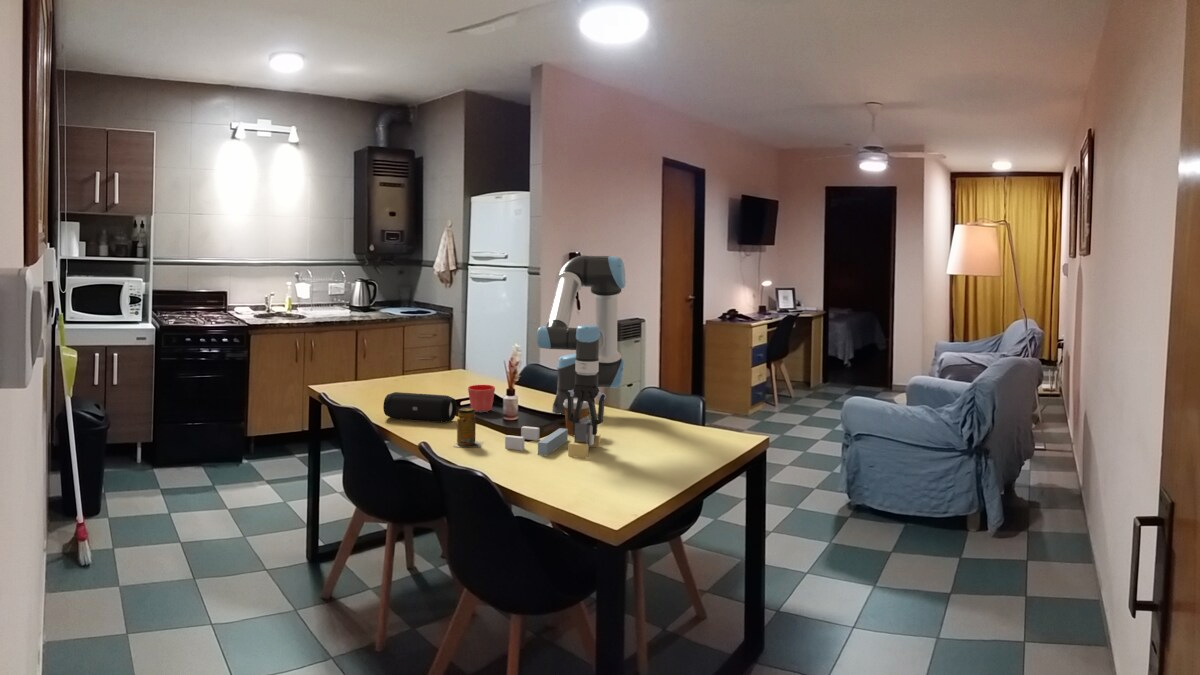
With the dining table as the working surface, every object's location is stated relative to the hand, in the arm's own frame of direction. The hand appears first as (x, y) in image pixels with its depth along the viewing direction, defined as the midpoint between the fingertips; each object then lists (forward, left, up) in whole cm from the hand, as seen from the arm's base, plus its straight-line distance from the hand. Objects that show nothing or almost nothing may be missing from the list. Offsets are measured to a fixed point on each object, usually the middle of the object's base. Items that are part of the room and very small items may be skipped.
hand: (584, 443), depth 247 cm
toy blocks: (0, -11, -3) cm, 11 cm away
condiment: (+8, -38, -3) cm, 39 cm away
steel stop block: (0, 0, 0) cm, 0 cm away
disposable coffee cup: (-20, -10, -3) cm, 23 cm away
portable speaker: (-15, -70, -3) cm, 72 cm away
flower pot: (-38, -56, -3) cm, 68 cm away
